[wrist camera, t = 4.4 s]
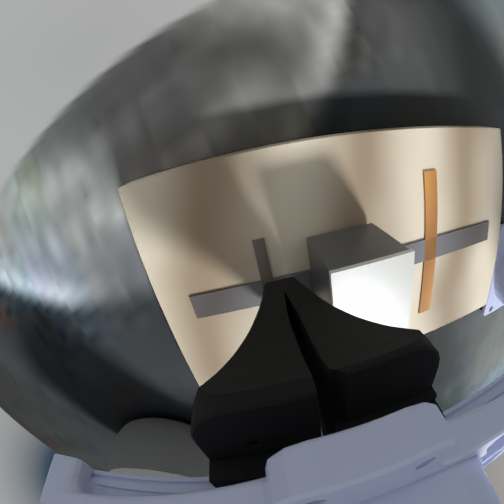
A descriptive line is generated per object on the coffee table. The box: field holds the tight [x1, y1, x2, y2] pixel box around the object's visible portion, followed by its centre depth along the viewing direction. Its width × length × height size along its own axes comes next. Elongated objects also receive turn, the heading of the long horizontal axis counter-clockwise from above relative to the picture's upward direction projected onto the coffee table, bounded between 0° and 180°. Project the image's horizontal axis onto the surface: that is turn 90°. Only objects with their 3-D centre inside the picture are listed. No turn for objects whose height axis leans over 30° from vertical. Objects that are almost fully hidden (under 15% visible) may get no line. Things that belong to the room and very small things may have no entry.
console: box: [118, 126, 503, 386], centre depth 13 cm, size 20×12×2 cm, turn 102°
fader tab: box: [306, 223, 415, 328], centre depth 11 cm, size 3×4×3 cm
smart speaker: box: [107, 417, 209, 477], centre depth 14 cm, size 10×9×14 cm
